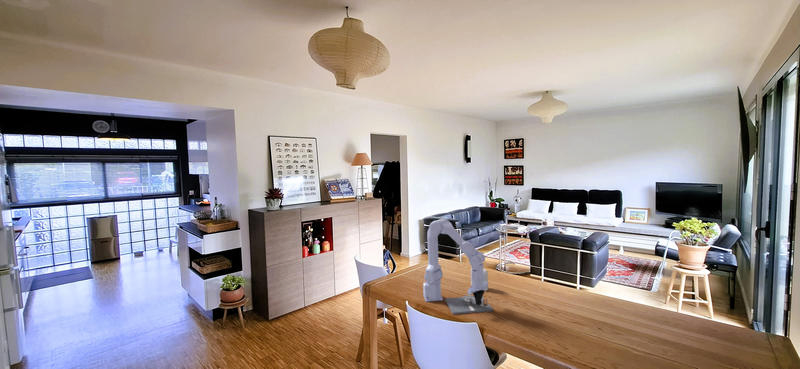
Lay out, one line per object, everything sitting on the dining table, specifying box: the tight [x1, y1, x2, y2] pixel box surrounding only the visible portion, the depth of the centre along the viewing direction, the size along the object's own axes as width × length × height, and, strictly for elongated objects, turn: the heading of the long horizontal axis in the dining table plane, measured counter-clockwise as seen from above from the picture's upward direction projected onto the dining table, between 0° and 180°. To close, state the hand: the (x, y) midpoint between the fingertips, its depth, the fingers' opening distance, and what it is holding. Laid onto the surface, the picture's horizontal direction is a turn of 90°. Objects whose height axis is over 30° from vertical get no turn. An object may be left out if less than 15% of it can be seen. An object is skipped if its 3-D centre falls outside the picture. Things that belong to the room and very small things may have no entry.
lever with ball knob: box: [462, 294, 488, 306], centre depth 158 cm, size 13×5×2 cm, turn 55°
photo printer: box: [470, 267, 489, 292], centre depth 181 cm, size 10×4×12 cm, turn 40°
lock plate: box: [444, 295, 494, 315], centre depth 161 cm, size 20×16×2 cm
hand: (478, 304), depth 156 cm, fingers closed, pressing on lever with ball knob
